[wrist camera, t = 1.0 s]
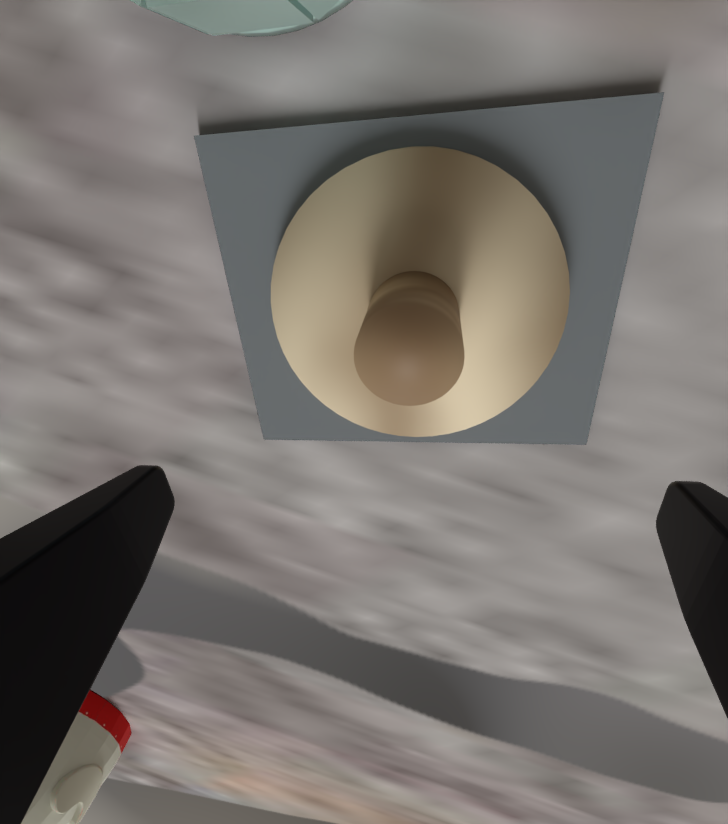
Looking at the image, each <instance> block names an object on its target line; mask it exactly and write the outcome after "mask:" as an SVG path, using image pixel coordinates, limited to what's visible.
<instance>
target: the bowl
mask: <svg viewBox="0 0 728 824" xmlns="http://www.w3.org/2000/svg"><path fill="white" fill-rule="evenodd" d="M130 1H132V2H134V3H136V4H137V5H139V6H141V7H144V8H146V9H148V10H151V11H153V12H155V13H158V14H160V15H163V16H165V17H167V18H170V19H172V20H175V21H177V22H179V23H182V24H184V25H187V26H189V27H191V28H194V29H196V30H198V31H201V32H203V33H206V34H208V35H209V34H210V35H213V36H216V35H224V34H233V35H240V36H247V37H257V36H275V35H280V34H285V33H289V32H294V31H298V30H301V29H303V28H306V27H308V26H311V25H313V24H316V23H318V22H321V21H322V20H324V19H326V18H327V17H329V16H331V15H332V14H334V13H336V12H337V11H339V10H341V9H342V8H344V7H345V6H347V5H348V4H349V3H350V2H351V1H353V0H130Z"/></svg>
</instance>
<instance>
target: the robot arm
mask: <svg viewBox="0 0 728 824" xmlns="http://www.w3.org/2000/svg"><path fill="white" fill-rule="evenodd" d="M174 503H175V501H174V496H173V493H172V491H171V488H170V486H169V483H168V480H167V478H166V475H165V473H164V471H163V469H162V468H161V467H159V466H152V465H140V466H136V467H134V468H132V469H131V470H129V471H127V472H125V473H123V474H121V475H119V476H117V477H115V478H114V479H112V480H110V481H108V482H106V483H104V484H102V485H100V486H99V487H97V488H95V489H93V490H91V491H89V492H87V493H85V494H83V495H82V496H80V497H78V498H76V499H74V500H72V501H70V502H68V503H67V504H65V505H63V506H61V507H59V508H57V509H55V510H53V511H51V512H50V513H48V514H46V515H44V516H42V517H40V518H38V519H36V520H35V521H33V522H31V523H29V524H27V525H25V526H23V527H21V528H19V529H18V530H16V531H14V532H12V533H10V534H8V535H6V536H4V537H3V538H1V539H0V824H21V823H22V821H23V819H24V817H25V815H26V813H27V811H28V809H29V807H30V805H31V803H32V801H33V799H34V797H35V796H36V794H37V792H38V790H39V788H40V786H41V784H42V782H43V780H44V778H45V776H46V774H47V772H48V770H49V768H50V766H51V764H52V762H53V760H54V758H55V757H56V755H57V753H58V751H59V749H60V747H61V745H62V743H63V741H64V739H65V737H66V735H67V733H68V731H69V729H70V727H71V725H72V723H73V721H74V719H75V718H76V716H77V714H78V712H79V710H80V708H81V706H82V704H83V702H84V700H85V698H86V696H87V694H88V692H89V690H90V688H91V686H92V684H93V682H94V680H95V679H96V677H97V675H98V673H99V671H100V669H101V667H102V665H103V663H104V661H105V659H106V657H107V655H108V653H109V651H110V649H111V647H112V645H113V643H114V641H115V640H116V638H117V636H118V634H119V632H120V630H121V628H122V626H123V624H124V622H125V620H126V618H127V616H128V614H129V612H130V610H131V608H132V606H133V604H134V603H135V601H136V599H137V596H138V595H139V593H140V591H141V588H142V587H143V584H144V582H145V580H146V578H147V576H148V573H149V571H150V569H151V566H152V564H153V561H154V558H155V556H156V553H157V551H158V548H159V546H160V543H161V541H162V538H163V535H164V533H165V530H166V528H167V525H168V523H169V520H170V518H171V515H172V513H173V510H174ZM656 528H657V533H658V537H659V540H660V543H661V546H662V549H663V553H664V556H665V559H666V562H667V566H668V569H669V572H670V575H671V578H672V582H673V585H674V588H675V591H676V595H677V598H678V601H679V604H680V607H681V610H682V613H683V616H684V619H685V621H686V624H687V626H688V629H689V631H690V634H691V636H692V638H693V641H694V643H695V645H696V647H697V650H698V652H699V654H700V657H701V659H702V661H703V663H704V666H705V668H706V670H707V673H708V675H709V677H710V679H711V682H712V684H713V686H714V689H715V691H716V693H717V695H718V698H719V700H720V702H721V705H722V707H723V709H724V711H725V714H726V716H727V718H728V498H727V497H726V496H724V495H722V494H721V493H719V492H717V491H716V490H714V489H712V488H711V487H709V486H707V485H706V484H704V483H701V482H691V481H675V482H672V483H671V484H670V485H669V486H668V488H667V490H666V493H665V496H664V499H663V502H662V504H661V507H660V510H659V513H658V515H657V520H656Z"/></svg>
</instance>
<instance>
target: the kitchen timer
mask: <svg viewBox="0 0 728 824" xmlns="http://www.w3.org/2000/svg"><path fill="white" fill-rule="evenodd" d="M103 698H104V697H102V696H100V695H99V694H97V693H95V692H94V691H92V690H91V689H90V690H89V692H88V694H87V696H86V698H85V700H84V702H83V704H82V706H81V708H80V710H79V712H78V714H77V716H76V718H75V719H74V721H73V723H72V725H71V727H70V729H69V731H68V733H67V735H66V737H65V739H64V741H63V743H62V745H61V747H60V749H59V751H58V753H57V755H56V757H55V758H54V760H53V762H52V764H51V766H50V768H49V770H48V772H47V774H46V776H45V778H44V780H43V782H42V784H41V786H40V788H39V790H38V792H37V794H36V796H35V797H34V799H33V801H32V803H31V805H30V807H29V809H28V811H27V813H26V815H25V817H24V819H23V821H22V823H21V824H79V823H80V821H81V820H82V818H83V817H84V815H85V814H86V812H87V810H88V809H89V807H90V805H91V803H92V802H93V800H94V798H95V796H96V794H97V792H98V790H99V788H100V786H101V785H102V784H103V782H104V781H105V780H106V778H107V777H108V775H109V774H110V772H111V771H112V769H113V768H114V766H115V764H116V763H117V761H118V759H119V757H120V755H121V753H122V751H123V749H124V747H125V745H126V743H127V741H128V739H129V737H130V735H131V729H130V724H129V723H128V721H127V720H126V718H125V717H124V716H123V714H122V713H121V712H120V711H119V710H118V709H116V708H115V707H114V706H113V705H112V704H110V703H109V702H108V701H107V700H105V699H103Z"/></svg>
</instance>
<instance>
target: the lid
mask: <svg viewBox="0 0 728 824" xmlns="http://www.w3.org/2000/svg"><path fill="white" fill-rule="evenodd" d="M569 297H570V284H569V270H568V265H567V260H566V255H565V251H564V248H563V246H562V243H561V240H560V237H559V234H558V232H557V230H556V228H555V226H554V225H553V223H552V221H551V219H550V217H549V215H548V214H547V212H546V211H545V210H544V208H543V207H542V206H541V204H540V203H539V202H538V200H537V199H536V198H535V196H534V195H533V194H532V193H531V192H529V191H528V190H527V189H526V188H525V187H524V186H523V185H522V184H521V183H520V182H519V181H518V180H517V179H515V178H514V177H512V176H511V175H509V174H508V173H506V172H505V171H504V170H502V169H501V168H499V167H498V166H496V165H494V164H492V163H490V162H488V161H486V160H484V159H482V158H480V157H477V156H475V155H472V154H468V153H465V152H462V151H459V150H455V149H448V148H441V147H435V146H411V147H405V148H398V149H392V150H388V151H384V152H381V153H378V154H375V155H372V156H369V157H366V158H364V159H362V160H360V161H358V162H356V163H354V164H352V165H350V166H347V167H345V168H344V169H342V170H341V171H339V172H338V173H336V174H335V175H334V176H332V177H331V178H329V179H328V180H326V181H325V182H324V183H323V184H322V185H321V186H320V187H319V188H318V189H316V190H315V191H314V192H313V193H312V194H311V195H310V196H309V197H308V199H307V200H306V201H305V202H304V204H303V205H302V206H301V207H300V208H299V210H298V211H297V212H296V214H295V216H294V217H293V219H292V221H291V222H290V224H289V225H288V227H287V229H286V231H285V233H284V236H283V238H282V240H281V243H280V245H279V248H278V251H277V255H276V258H275V262H274V265H273V272H272V280H271V309H272V317H273V323H274V326H275V330H276V334H277V338H278V340H279V343H280V346H281V348H282V351H283V353H284V355H285V357H286V359H287V361H288V362H289V364H290V366H291V368H292V369H293V371H294V372H295V374H296V375H297V377H298V378H299V379H300V381H301V382H302V383H303V384H304V385H305V387H306V388H307V389H308V390H309V391H310V392H311V393H312V394H313V395H314V396H315V397H316V398H317V399H318V400H319V401H321V402H322V403H323V404H324V405H325V406H327V407H328V408H330V409H331V410H332V411H334V412H335V413H337V414H338V415H340V416H342V417H344V418H345V419H347V420H349V421H351V422H353V423H355V424H358V425H360V426H363V427H365V428H368V429H371V430H374V431H378V432H381V433H386V434H392V435H397V436H409V437H427V436H437V435H444V434H450V433H454V432H458V431H461V430H465V429H468V428H470V427H473V426H476V425H478V424H481V423H483V422H485V421H487V420H489V419H491V418H493V417H495V416H496V415H498V414H499V413H501V412H502V411H504V410H505V409H507V408H508V407H510V406H511V405H513V404H514V403H515V402H516V401H517V400H518V399H520V398H521V397H522V396H523V395H524V394H525V393H526V392H527V391H528V390H529V389H530V388H531V387H532V386H533V385H534V384H535V382H536V381H537V380H538V379H539V377H540V376H541V375H542V373H543V372H544V370H545V369H546V368H547V366H548V364H549V363H550V361H551V359H552V357H553V355H554V353H555V352H556V350H557V347H558V345H559V342H560V339H561V337H562V334H563V332H564V328H565V323H566V319H567V315H568V308H569Z"/></svg>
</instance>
